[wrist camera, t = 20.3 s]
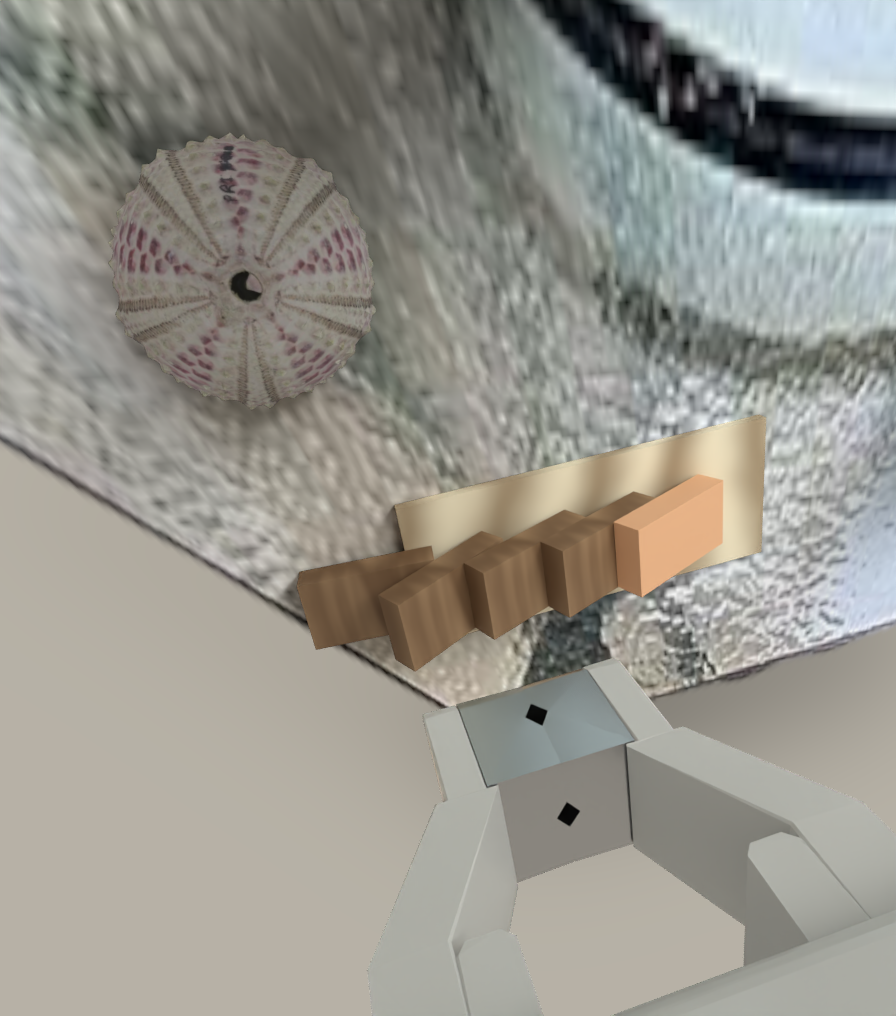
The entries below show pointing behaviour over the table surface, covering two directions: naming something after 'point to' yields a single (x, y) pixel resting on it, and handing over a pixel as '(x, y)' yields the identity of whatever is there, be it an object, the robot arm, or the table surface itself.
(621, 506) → the domino
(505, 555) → the domino
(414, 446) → the table surface
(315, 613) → the domino
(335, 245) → the sea urchin shell
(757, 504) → the birch board
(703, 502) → the domino
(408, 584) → the domino
